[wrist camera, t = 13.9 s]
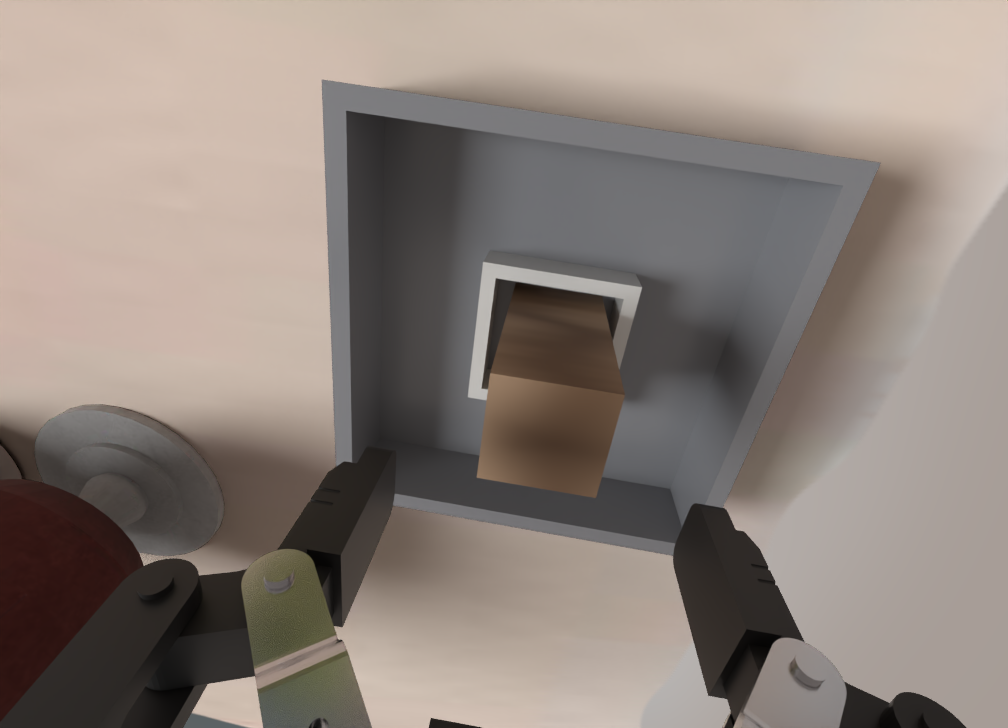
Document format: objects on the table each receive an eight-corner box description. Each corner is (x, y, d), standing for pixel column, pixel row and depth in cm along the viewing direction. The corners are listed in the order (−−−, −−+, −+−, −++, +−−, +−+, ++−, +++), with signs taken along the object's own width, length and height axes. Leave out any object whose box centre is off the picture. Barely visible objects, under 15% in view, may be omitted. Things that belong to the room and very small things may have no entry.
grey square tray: (372, 437, 28) (337, 495, 24) (374, 88, 20) (321, 79, 16) (676, 490, 28) (698, 560, 23) (808, 153, 20) (880, 162, 15)
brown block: (505, 359, 24) (476, 477, 16) (515, 282, 22) (490, 373, 14) (584, 372, 24) (596, 498, 16) (601, 295, 22) (625, 395, 14)
